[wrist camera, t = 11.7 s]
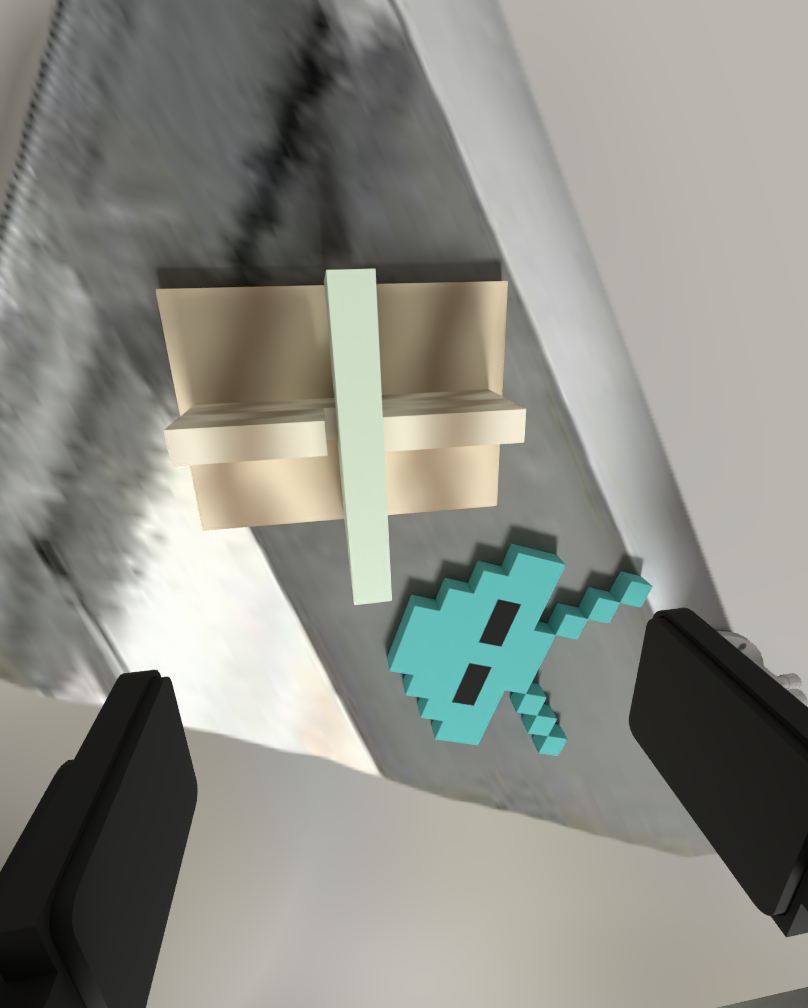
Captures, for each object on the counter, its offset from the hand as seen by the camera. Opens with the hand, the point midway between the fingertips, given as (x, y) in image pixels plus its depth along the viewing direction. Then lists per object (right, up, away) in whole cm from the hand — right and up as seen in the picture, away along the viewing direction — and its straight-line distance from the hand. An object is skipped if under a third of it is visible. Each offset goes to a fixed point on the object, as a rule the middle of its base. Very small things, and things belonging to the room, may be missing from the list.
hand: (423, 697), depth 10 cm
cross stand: (-4, +11, +26) cm, 28 cm away
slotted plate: (-4, +10, +25) cm, 27 cm away
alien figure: (+8, -9, +37) cm, 39 cm away
